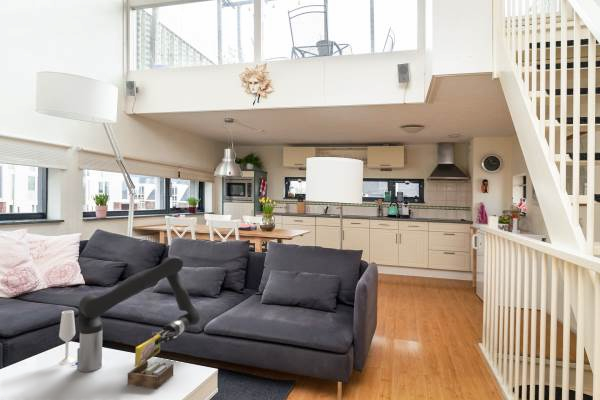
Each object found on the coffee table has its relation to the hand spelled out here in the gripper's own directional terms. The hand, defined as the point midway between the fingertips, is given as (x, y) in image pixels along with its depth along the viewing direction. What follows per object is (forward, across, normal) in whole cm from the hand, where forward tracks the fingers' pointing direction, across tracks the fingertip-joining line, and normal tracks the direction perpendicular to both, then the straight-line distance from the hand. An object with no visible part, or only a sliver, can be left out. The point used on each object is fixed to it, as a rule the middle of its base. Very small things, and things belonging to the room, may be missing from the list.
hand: (153, 342), depth 167 cm
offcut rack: (+7, +4, +13) cm, 16 cm away
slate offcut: (+8, +9, +13) cm, 18 cm away
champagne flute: (+1, -46, +14) cm, 48 cm away
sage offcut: (+7, +5, +13) cm, 16 cm away
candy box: (+4, 0, +6) cm, 7 cm away
